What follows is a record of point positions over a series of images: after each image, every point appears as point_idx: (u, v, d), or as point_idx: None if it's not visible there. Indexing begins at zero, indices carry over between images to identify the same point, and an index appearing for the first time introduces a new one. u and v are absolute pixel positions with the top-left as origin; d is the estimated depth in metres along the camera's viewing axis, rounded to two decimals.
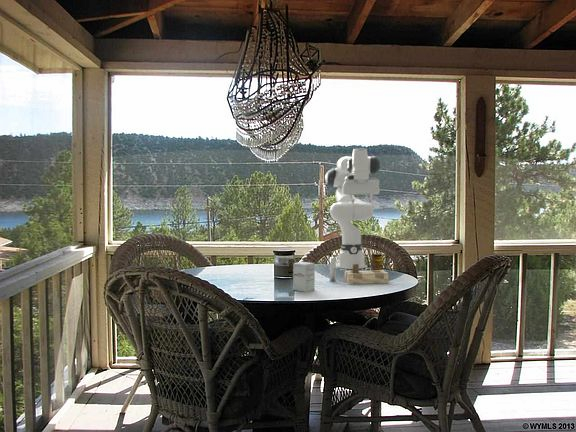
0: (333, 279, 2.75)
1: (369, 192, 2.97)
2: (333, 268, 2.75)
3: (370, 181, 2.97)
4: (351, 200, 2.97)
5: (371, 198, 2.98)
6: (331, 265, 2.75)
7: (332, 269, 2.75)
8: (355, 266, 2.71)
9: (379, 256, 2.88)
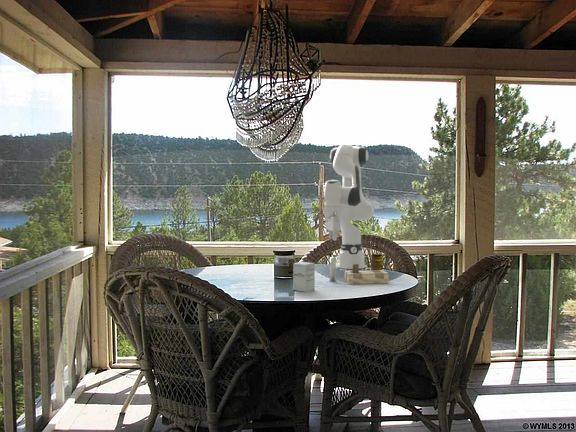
0: (333, 279, 2.75)
1: (331, 229, 2.71)
2: (333, 268, 2.75)
3: (331, 217, 2.70)
4: None
5: (333, 236, 2.70)
6: (331, 265, 2.75)
7: (332, 269, 2.75)
8: (355, 266, 2.71)
9: (379, 256, 2.88)
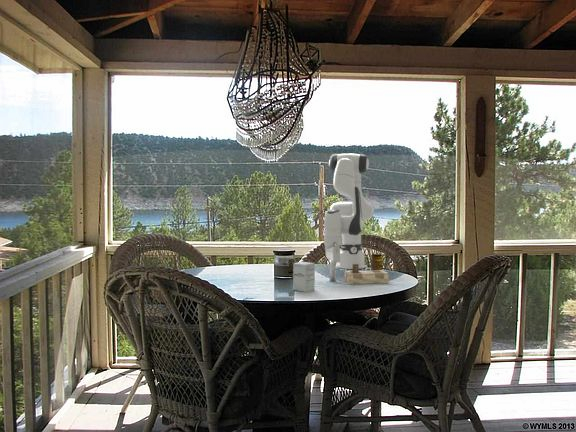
0: (333, 279, 2.75)
1: (331, 259, 2.72)
2: None
3: (331, 247, 2.71)
4: None
5: (332, 265, 2.73)
6: (331, 265, 2.75)
7: None
8: (355, 266, 2.71)
9: (379, 256, 2.88)
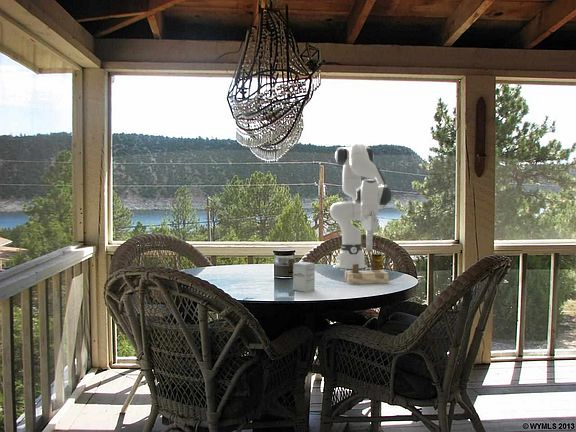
0: (370, 249, 2.72)
1: (368, 229, 2.69)
2: None
3: (368, 217, 2.68)
4: None
5: (369, 235, 2.70)
6: (368, 235, 2.72)
7: None
8: (355, 266, 2.71)
9: (379, 256, 2.88)
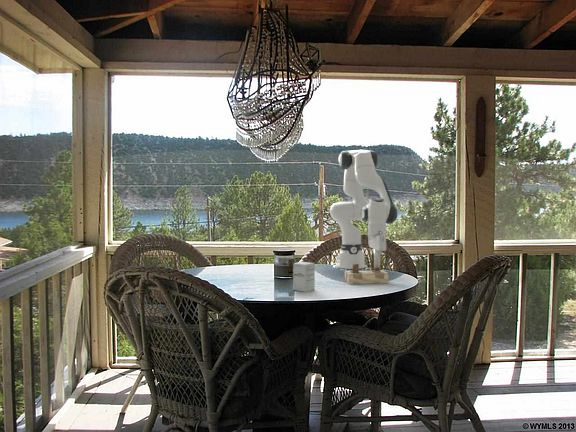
0: (377, 268, 2.72)
1: (376, 248, 2.69)
2: None
3: (376, 236, 2.68)
4: None
5: (377, 254, 2.70)
6: (375, 254, 2.72)
7: None
8: (355, 266, 2.71)
9: None
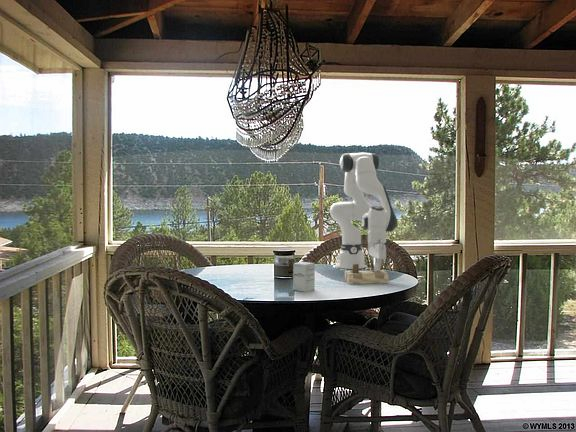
0: None
1: (376, 257, 2.69)
2: (377, 269, 2.72)
3: (376, 245, 2.68)
4: None
5: (377, 263, 2.69)
6: (375, 266, 2.72)
7: (377, 270, 2.72)
8: (355, 266, 2.71)
9: None
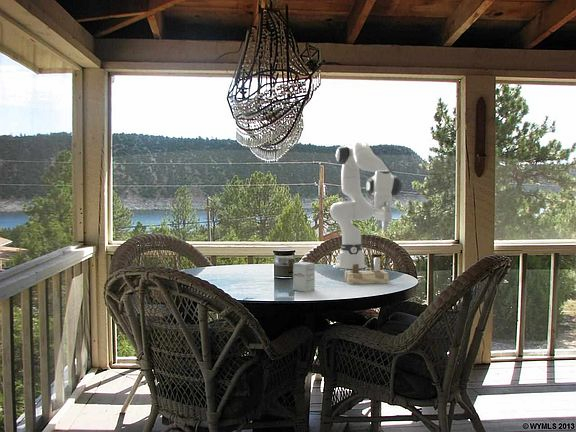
0: None
1: (381, 219, 2.71)
2: (377, 269, 2.72)
3: (382, 207, 2.70)
4: None
5: None
6: (375, 266, 2.72)
7: (377, 270, 2.72)
8: (355, 266, 2.71)
9: (379, 256, 2.88)
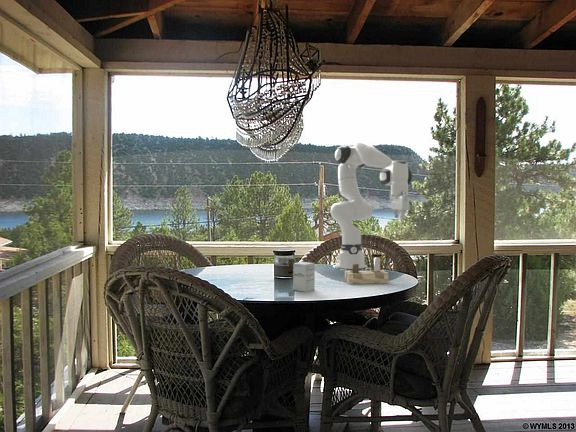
0: None
1: (398, 208, 2.79)
2: (377, 269, 2.72)
3: (399, 196, 2.78)
4: None
5: (401, 214, 2.78)
6: (375, 266, 2.72)
7: (377, 270, 2.72)
8: (355, 266, 2.71)
9: (379, 256, 2.88)
